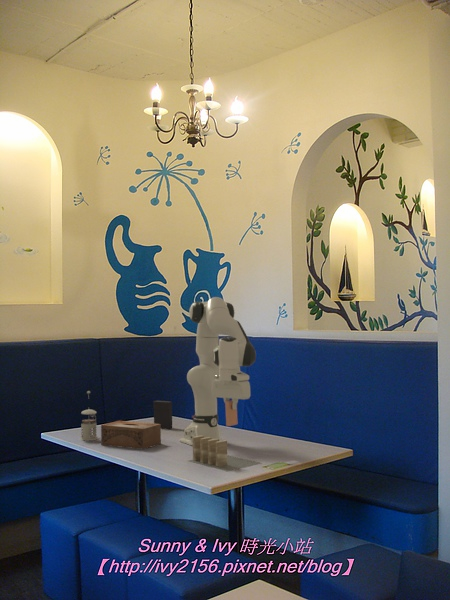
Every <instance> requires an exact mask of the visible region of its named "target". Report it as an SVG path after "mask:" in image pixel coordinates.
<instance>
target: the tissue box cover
mask: <svg viewBox="0 0 450 600" xmlns="http://www.w3.org/2000/svg"><path fill="white" fill-rule="evenodd" d="M100 436H101V437H100V443H101V446H109V445H112V446H111V447H118V446H122V447H121V448H127V447H132V448H131V449H137V448H142V449H141V450H145V449H144V448H146V449H148V448H147V447H149V448H151V447H150V446H152V447H155V446H157V444H158V445H161V444H160V443H161V441H162V438H161V437H162V428H161V424H154V422H153V423H151V422H140V421H139V422H138V421H128V420H127V421H126V420H116V421H113V422H112V421H111V422H107V423H104V424H100ZM154 445H155V446H154Z"/></svg>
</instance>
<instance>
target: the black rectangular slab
mask: <svg viewBox="0 0 450 600" xmlns="http://www.w3.org/2000/svg"><path fill="white" fill-rule="evenodd" d="M152 408H153V424H161V429H165V428H167V429H166V430H168V429H170V430H171V429H173V401H166V400H153V402H152Z"/></svg>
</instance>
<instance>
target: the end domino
mask: <svg viewBox="0 0 450 600" xmlns="http://www.w3.org/2000/svg"><path fill="white" fill-rule="evenodd" d="M232 404H233V401H232V400H229V401H225V402H224V405H225V406H224V407H225V425H226V426H227V427H231V426H236V425H238V421H239V420H238V404H237V405H236V409H235V410H233V409H231V405H232Z"/></svg>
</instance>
